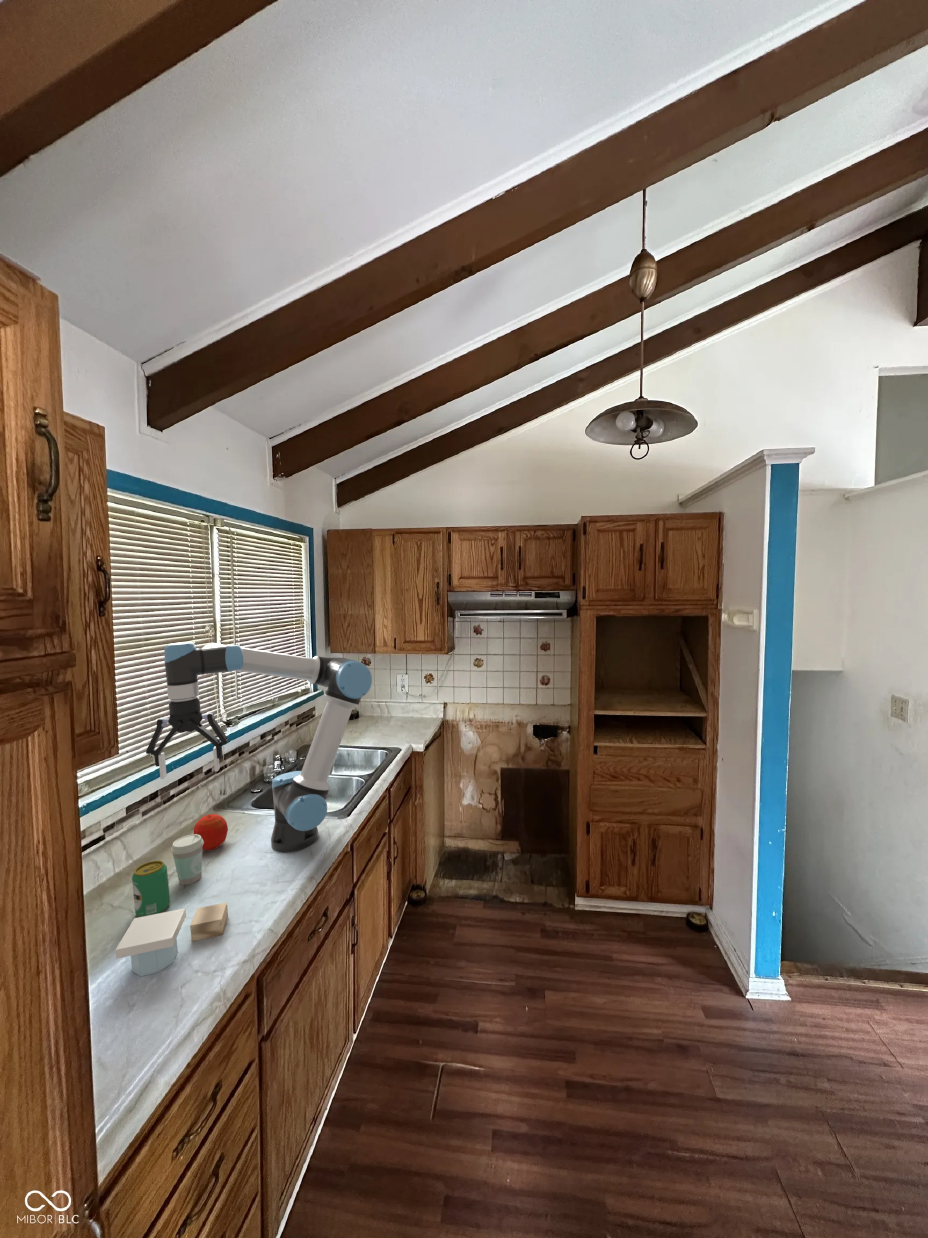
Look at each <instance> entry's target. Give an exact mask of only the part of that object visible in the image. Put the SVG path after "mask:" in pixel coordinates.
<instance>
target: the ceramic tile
mask: <svg viewBox="0 0 928 1238" xmlns="http://www.w3.org/2000/svg"><path fill="white" fill-rule="evenodd" d="M186 911H187V910H186V908H181V909H175V910H169V911H164V912H163V913H159V914H154V915H149V916H144V917H135V918H133V920H132V921H131V923H130V925H129V926H128V928H127V930H126V932H125V933H124V935H123V937H122V938H121V940H120V941H119V943H118V944H117V947H116V949H115V958H116V959H120V958H121V959H123V958H126V957H129V956H130V957H131V955H136V954H140V953H145V952H150V951H154V950H159V949H164V948H168V947H173V945H174V943H175V940H176V938H178V935H179V934H180V931H181V929H182V926H183V924H184V922H185V919H186V917H187V913H186Z"/></svg>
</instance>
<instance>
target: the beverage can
mask: <svg viewBox="0 0 928 1238" xmlns="http://www.w3.org/2000/svg"><path fill="white" fill-rule="evenodd" d="M168 875H169V874H168V867H167V865H166V864H165V863H164V861H163V860H160V859H159V860H152V861H149V862H146V863H143V864H140V865H139V866H137V867H136V868H135V869H134V871H133V874H132V876H131V881H132V890H133V891H132V892H133V901H134V902H133V903H134V912H135V915H136V916H137V918H139V917H144V916H149V915H154V914H159V913H164V912H166V910H168V908H169V906H170V903H171V895H170V888H169V887H170V885H169V877H168Z"/></svg>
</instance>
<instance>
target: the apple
mask: <svg viewBox="0 0 928 1238" xmlns="http://www.w3.org/2000/svg"><path fill="white" fill-rule="evenodd" d="M228 831H229V829H228V823H227V820H226V818H224V817H223V816H222V815H219V814H215V813H211V814H210V813H209V814H207V815H204V816H202V817H201V818H199V820H198V821H196V823H195V825H194V827H193V834H197V835H200V836H201V838H202V839H203V842H204V844H203V847H202V851H205V852H210V851H216V849H218V848H219V847H221V845H222V844H223V843H224V842H226V839H227V837H228V836H227V835H228Z"/></svg>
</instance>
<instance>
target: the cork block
mask: <svg viewBox="0 0 928 1238" xmlns="http://www.w3.org/2000/svg"><path fill="white" fill-rule="evenodd" d="M228 909H229V908H228V902H221V903H218V904H213V905H207V906H203V907H198V908H196V910H195V913H194V916H193V918H192V921H191V923H190V926H189V927H190V929H189V930H190V937H191V942H195V941H200V940H204V939H209V938H214V937H218V936H223V935H224V932H225V929H226V926H227V923H228V918H229V910H228Z"/></svg>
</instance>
